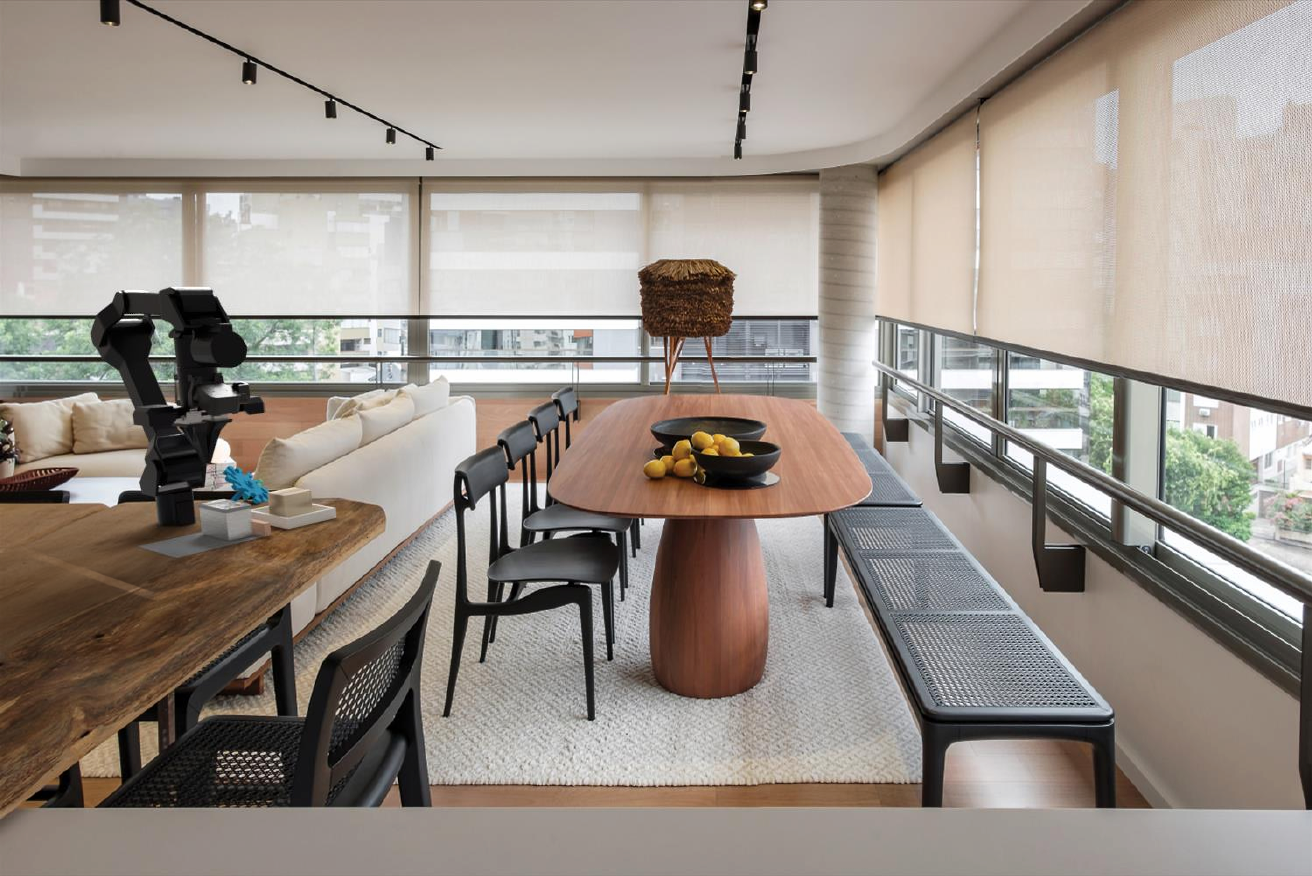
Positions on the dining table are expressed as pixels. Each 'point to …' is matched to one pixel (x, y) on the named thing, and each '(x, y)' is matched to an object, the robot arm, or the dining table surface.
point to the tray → (316, 516)
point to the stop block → (290, 502)
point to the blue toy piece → (245, 485)
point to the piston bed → (203, 542)
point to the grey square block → (226, 519)
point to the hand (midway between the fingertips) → (207, 463)
